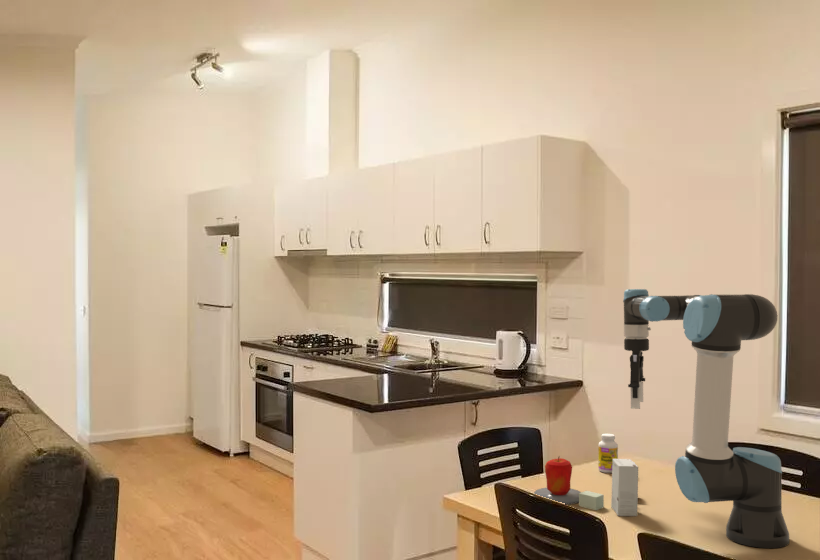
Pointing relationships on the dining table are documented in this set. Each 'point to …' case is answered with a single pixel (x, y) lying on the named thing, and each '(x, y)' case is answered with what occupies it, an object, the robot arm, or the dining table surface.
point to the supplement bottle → (607, 452)
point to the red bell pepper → (558, 476)
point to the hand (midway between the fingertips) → (637, 405)
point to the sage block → (591, 500)
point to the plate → (560, 496)
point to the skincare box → (624, 487)
